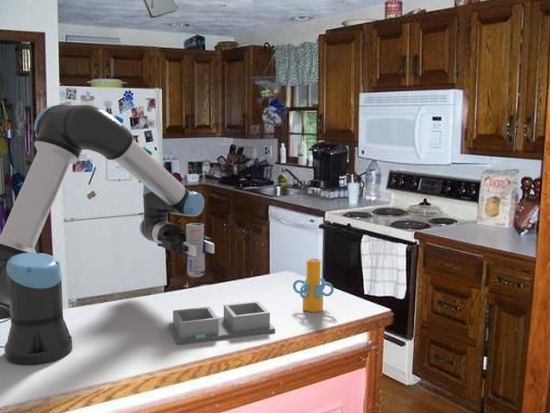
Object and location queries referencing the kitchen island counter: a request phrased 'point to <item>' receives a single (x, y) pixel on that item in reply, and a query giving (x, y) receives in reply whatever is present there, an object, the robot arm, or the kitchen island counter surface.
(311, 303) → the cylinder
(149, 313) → the kitchen island counter surface
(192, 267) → the beverage can
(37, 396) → the kitchen island counter surface
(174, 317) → the double square planter tray
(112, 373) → the kitchen island counter surface
